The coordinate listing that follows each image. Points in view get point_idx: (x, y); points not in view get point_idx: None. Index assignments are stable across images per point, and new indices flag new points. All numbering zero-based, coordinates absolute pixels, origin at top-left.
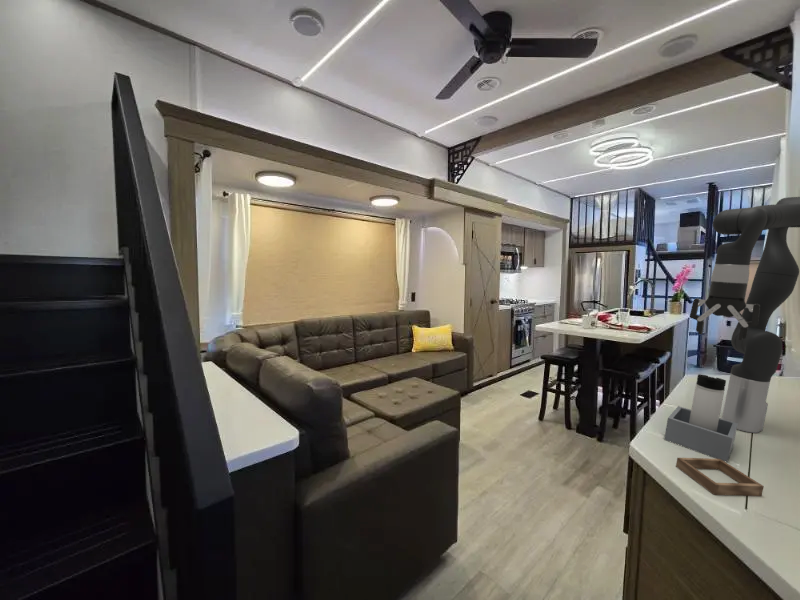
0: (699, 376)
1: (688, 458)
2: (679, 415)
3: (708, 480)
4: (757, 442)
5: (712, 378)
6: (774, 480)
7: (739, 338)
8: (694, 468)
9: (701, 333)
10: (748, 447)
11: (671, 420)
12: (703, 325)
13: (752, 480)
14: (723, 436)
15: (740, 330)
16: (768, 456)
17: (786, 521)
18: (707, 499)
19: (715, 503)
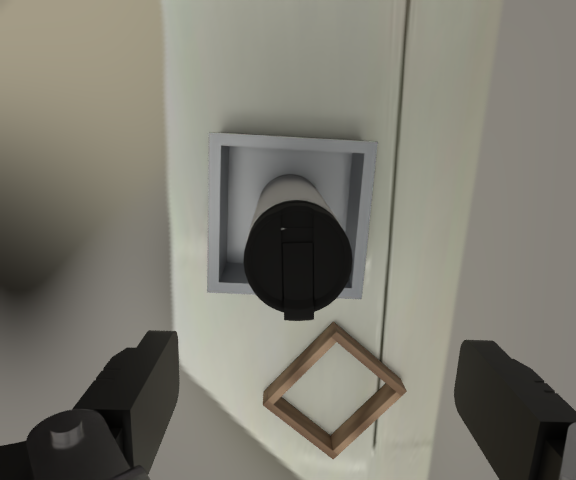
0: (252, 288)
1: (281, 389)
2: (224, 158)
3: (321, 448)
4: (419, 43)
5: (303, 318)
6: (428, 283)
7: (465, 416)
8: (296, 425)
9: (176, 398)
10: (395, 116)
11: (218, 291)
12: (149, 394)
13: (390, 383)
14: (342, 297)
15: (502, 478)
16: (433, 139)
17: (426, 434)
18: (322, 467)
19: (333, 469)
